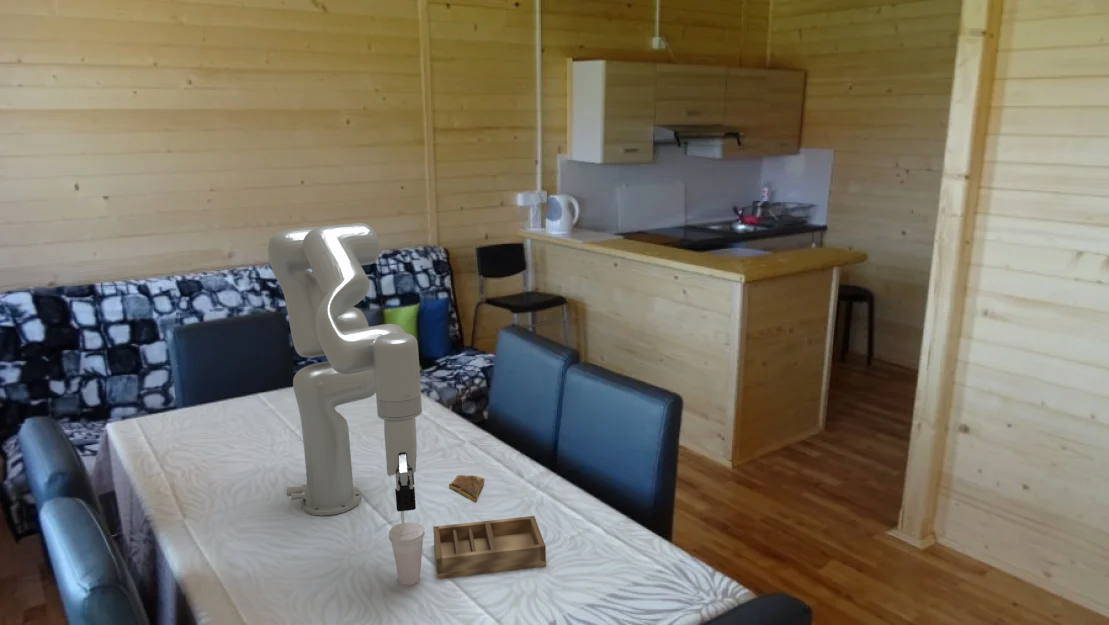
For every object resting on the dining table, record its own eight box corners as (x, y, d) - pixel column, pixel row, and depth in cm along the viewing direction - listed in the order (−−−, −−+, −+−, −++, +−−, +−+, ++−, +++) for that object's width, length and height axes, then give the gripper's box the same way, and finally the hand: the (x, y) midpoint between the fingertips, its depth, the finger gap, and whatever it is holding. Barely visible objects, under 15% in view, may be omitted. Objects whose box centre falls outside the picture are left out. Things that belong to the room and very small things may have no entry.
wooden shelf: (437, 578, 144) (436, 559, 143) (434, 545, 155) (433, 526, 154) (545, 565, 147) (545, 546, 146) (534, 533, 159) (534, 515, 158)
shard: (476, 504, 172) (476, 497, 172) (441, 503, 173) (441, 495, 173) (485, 482, 183) (485, 475, 182) (453, 481, 184) (453, 474, 183)
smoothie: (393, 570, 146) (389, 501, 143) (428, 568, 147) (424, 499, 144) (389, 590, 140) (384, 518, 137) (426, 588, 141) (422, 516, 137)
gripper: (377, 391, 143) (384, 479, 147) (376, 424, 127) (383, 522, 130) (419, 388, 145) (425, 475, 148) (423, 420, 128) (429, 517, 132)
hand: (405, 497), depth 139 cm, fingers open, 9 cm apart
